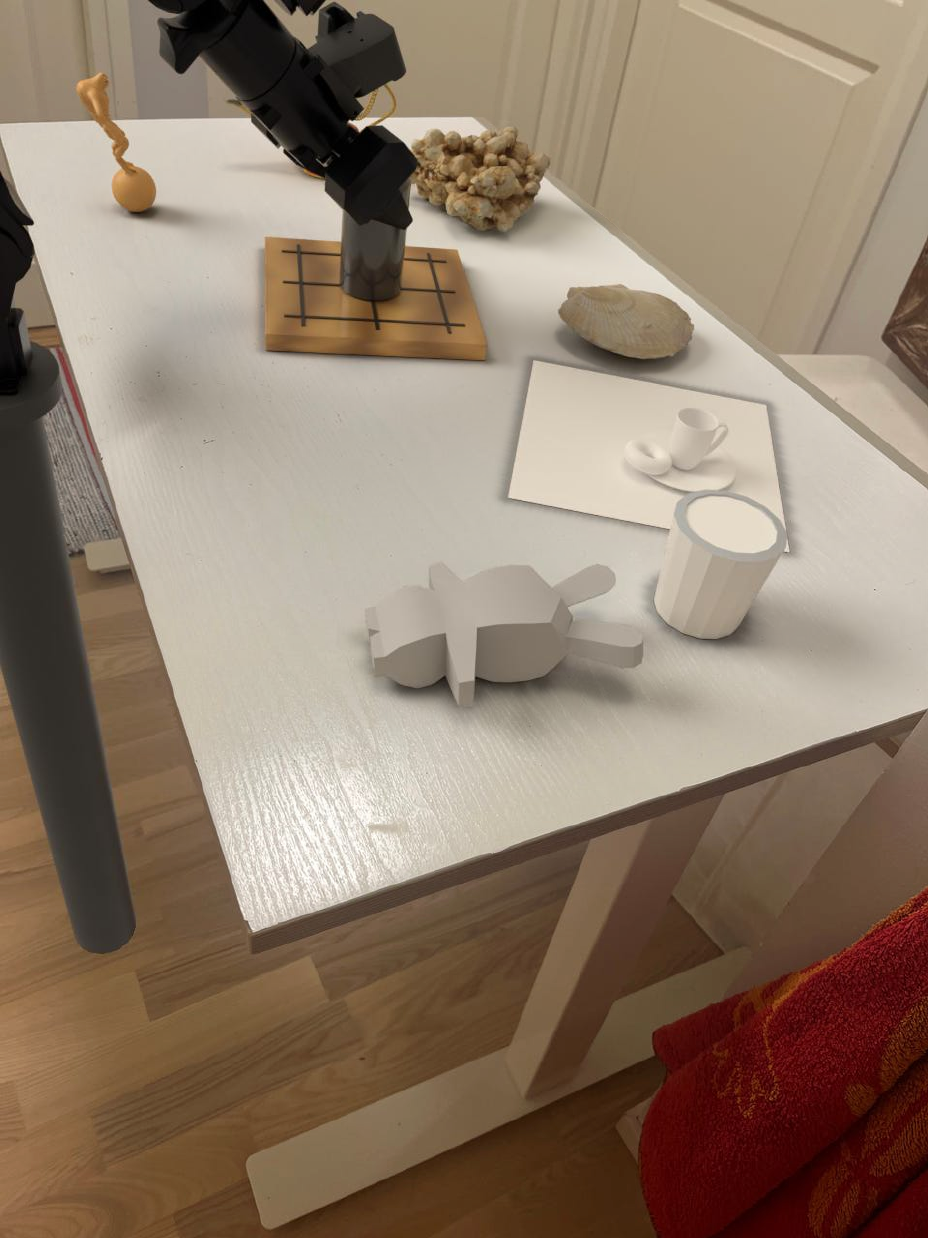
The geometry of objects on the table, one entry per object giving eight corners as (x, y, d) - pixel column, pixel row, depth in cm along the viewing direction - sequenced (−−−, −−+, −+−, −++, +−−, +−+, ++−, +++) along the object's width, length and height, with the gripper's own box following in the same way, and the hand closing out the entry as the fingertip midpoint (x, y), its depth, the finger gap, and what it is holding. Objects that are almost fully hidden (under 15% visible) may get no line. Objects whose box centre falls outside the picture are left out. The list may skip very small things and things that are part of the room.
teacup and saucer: (619, 483, 73) (632, 436, 70) (621, 425, 78) (634, 379, 76) (737, 506, 72) (756, 460, 70) (731, 446, 78) (748, 401, 75)
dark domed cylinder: (379, 307, 84) (390, 164, 76) (326, 286, 85) (331, 144, 77) (412, 286, 88) (426, 147, 80) (361, 266, 89) (370, 128, 81)
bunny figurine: (357, 554, 57) (608, 525, 59) (362, 617, 61) (598, 587, 63) (379, 676, 50) (661, 638, 53) (383, 739, 54) (646, 700, 56)
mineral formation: (390, 193, 106) (501, 168, 113) (462, 265, 100) (573, 235, 107) (400, 119, 99) (516, 97, 106) (477, 192, 94) (595, 165, 101)
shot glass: (671, 652, 60) (705, 565, 56) (627, 577, 65) (655, 491, 60) (769, 640, 62) (810, 555, 58) (719, 568, 67) (754, 484, 62)
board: (265, 350, 80) (265, 332, 78) (264, 251, 92) (264, 234, 91) (485, 360, 83) (488, 343, 82) (455, 264, 96) (457, 247, 95)
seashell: (665, 388, 84) (675, 357, 82) (536, 345, 86) (542, 314, 84) (696, 334, 92) (706, 304, 90) (577, 296, 94) (584, 266, 92)
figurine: (166, 227, 93) (155, 88, 85) (99, 230, 91) (81, 88, 83) (148, 191, 98) (137, 57, 90) (84, 193, 96) (67, 56, 88)
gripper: (405, 13, 63) (519, 178, 76) (288, -60, 74) (405, 94, 87) (288, 149, 65) (418, 288, 78) (190, 58, 76) (319, 193, 89)
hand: (390, 209), depth 83 cm, fingers open, 6 cm apart
